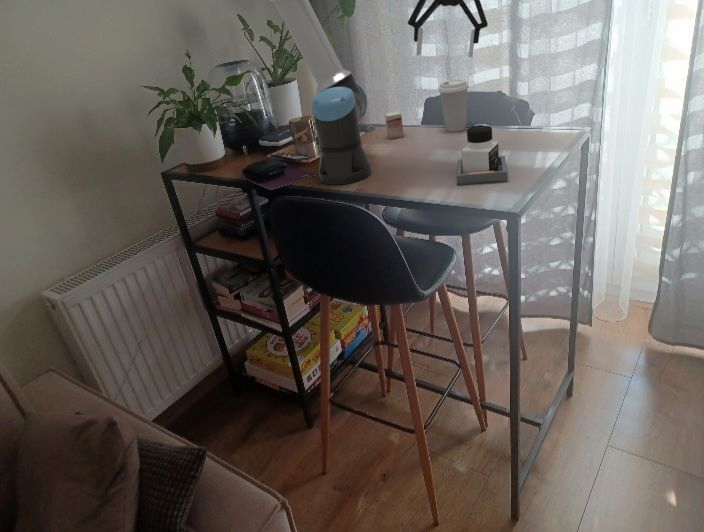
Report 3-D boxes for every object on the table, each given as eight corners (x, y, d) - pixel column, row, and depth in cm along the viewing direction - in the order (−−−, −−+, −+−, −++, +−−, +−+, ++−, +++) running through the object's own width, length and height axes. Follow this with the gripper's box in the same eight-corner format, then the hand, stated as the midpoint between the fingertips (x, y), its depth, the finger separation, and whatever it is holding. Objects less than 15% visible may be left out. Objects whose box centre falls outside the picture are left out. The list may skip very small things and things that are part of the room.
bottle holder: (457, 185, 130) (456, 175, 129) (458, 168, 140) (458, 158, 139) (507, 181, 127) (507, 171, 126) (505, 164, 137) (504, 154, 136)
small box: (389, 139, 174) (386, 116, 170) (387, 136, 178) (384, 113, 174) (404, 137, 174) (401, 113, 170) (401, 133, 178) (399, 110, 174)
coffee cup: (444, 125, 178) (441, 80, 171) (472, 124, 175) (470, 77, 167) (438, 134, 171) (434, 87, 163) (467, 132, 167) (465, 84, 160)
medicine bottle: (490, 178, 129) (488, 130, 124) (462, 177, 133) (460, 130, 127) (499, 168, 134) (498, 122, 129) (472, 167, 138) (470, 122, 132)
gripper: (505, -34, 129) (493, 58, 137) (406, -33, 136) (400, 54, 144) (504, -40, 122) (491, 58, 130) (400, -38, 129) (394, 54, 137)
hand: (444, 56), depth 137 cm, fingers open, 13 cm apart
